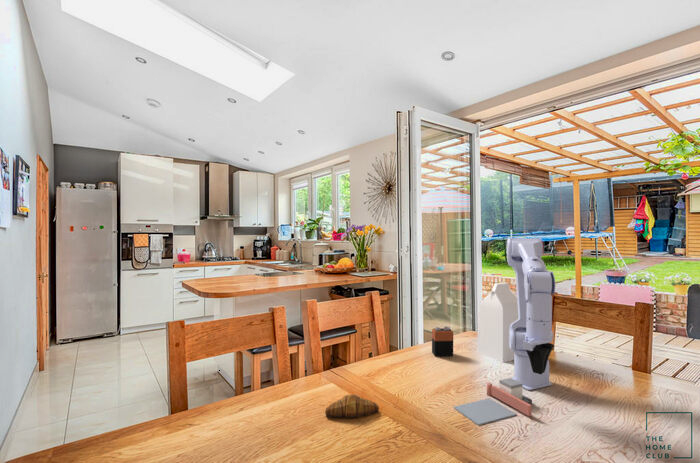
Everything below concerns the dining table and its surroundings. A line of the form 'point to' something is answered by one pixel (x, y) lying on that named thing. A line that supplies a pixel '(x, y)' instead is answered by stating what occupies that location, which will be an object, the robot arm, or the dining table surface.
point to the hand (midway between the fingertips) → (538, 372)
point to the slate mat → (484, 411)
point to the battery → (442, 341)
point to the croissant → (351, 407)
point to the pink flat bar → (509, 399)
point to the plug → (511, 387)
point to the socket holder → (526, 399)
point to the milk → (497, 323)
